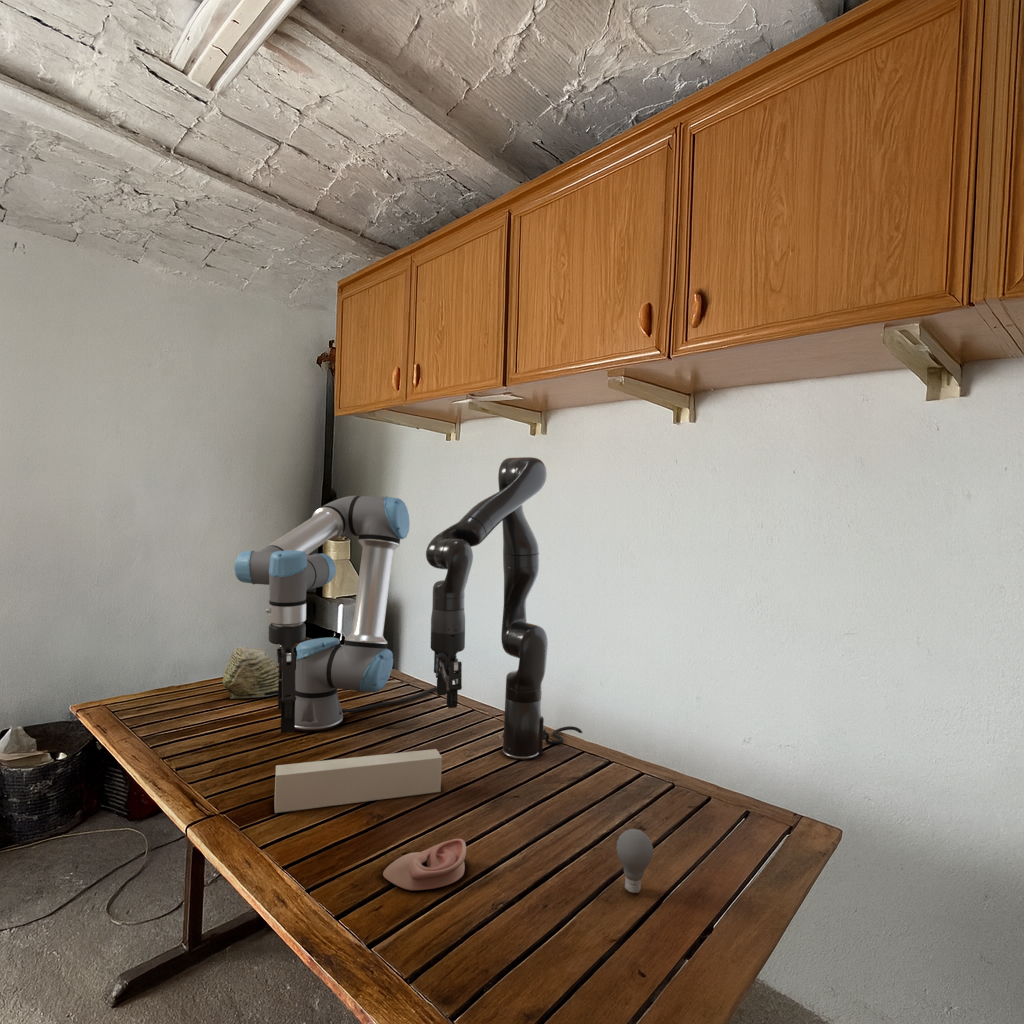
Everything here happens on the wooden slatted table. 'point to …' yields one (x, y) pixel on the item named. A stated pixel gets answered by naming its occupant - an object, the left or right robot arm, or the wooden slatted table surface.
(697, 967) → the wooden slatted table surface
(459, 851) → the anatomical model
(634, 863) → the light bulb
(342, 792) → the beam
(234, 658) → the fossil
